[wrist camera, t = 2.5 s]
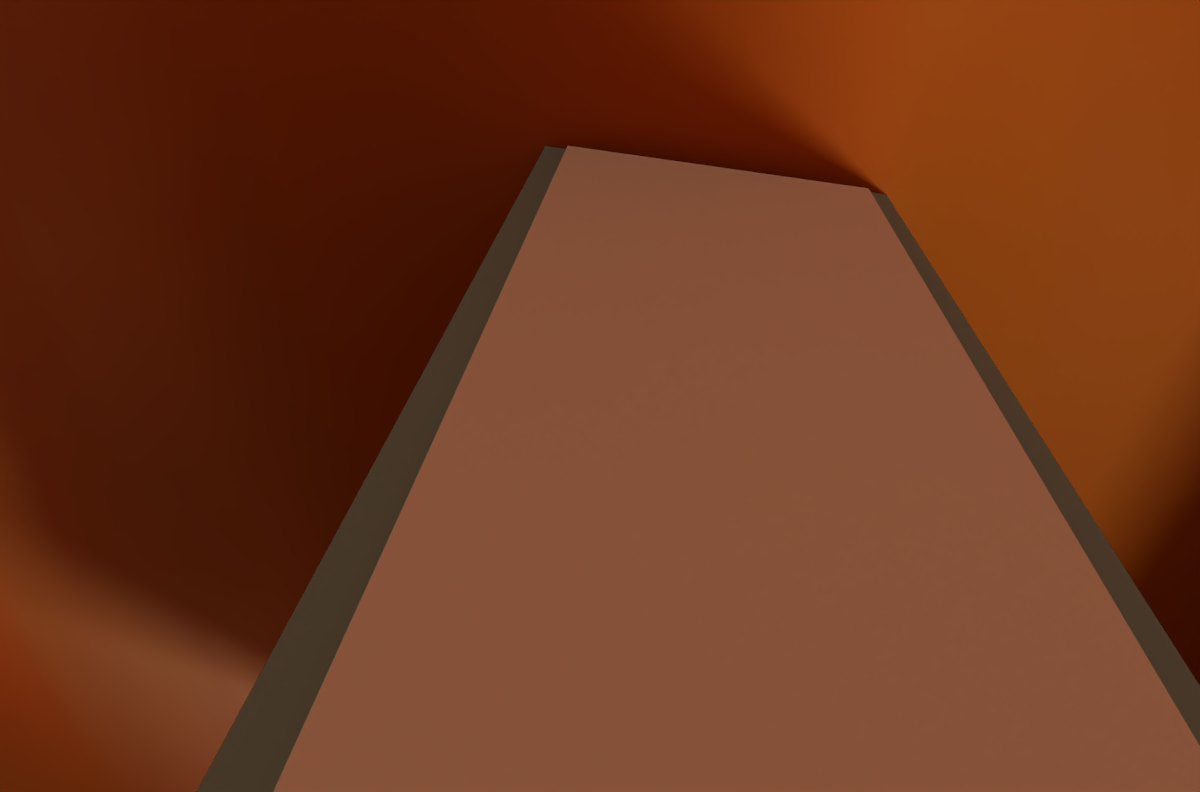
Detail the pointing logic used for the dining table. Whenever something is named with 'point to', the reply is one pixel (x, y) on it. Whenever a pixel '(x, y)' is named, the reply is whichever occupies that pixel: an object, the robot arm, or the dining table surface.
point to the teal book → (714, 531)
